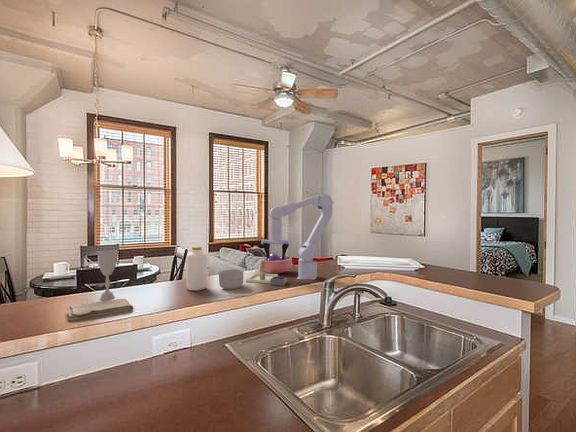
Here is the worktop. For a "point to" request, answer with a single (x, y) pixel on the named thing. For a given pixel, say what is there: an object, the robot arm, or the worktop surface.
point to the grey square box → (278, 281)
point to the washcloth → (98, 309)
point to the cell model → (277, 264)
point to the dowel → (262, 270)
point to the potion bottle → (196, 269)
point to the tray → (256, 278)
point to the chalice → (107, 269)
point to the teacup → (231, 278)
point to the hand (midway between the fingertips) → (275, 258)
